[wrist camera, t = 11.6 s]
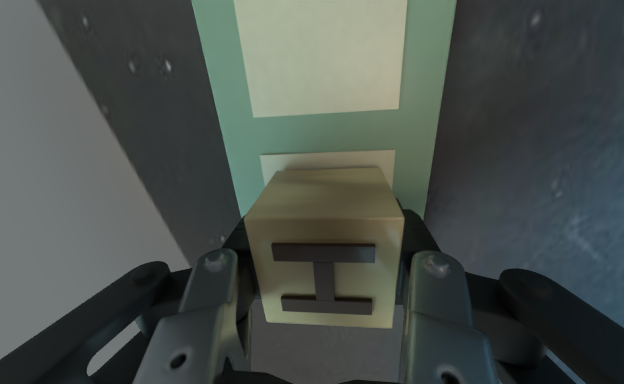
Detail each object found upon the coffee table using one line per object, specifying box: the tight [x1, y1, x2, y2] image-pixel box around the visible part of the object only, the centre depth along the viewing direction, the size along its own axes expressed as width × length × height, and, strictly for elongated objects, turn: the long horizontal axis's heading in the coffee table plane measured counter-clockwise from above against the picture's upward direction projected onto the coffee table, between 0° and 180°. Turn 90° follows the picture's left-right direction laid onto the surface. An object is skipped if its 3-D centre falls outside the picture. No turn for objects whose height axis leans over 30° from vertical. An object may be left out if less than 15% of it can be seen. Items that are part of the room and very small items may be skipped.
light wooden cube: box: [244, 168, 405, 328], centre depth 9 cm, size 4×4×4 cm
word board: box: [192, 0, 457, 220], centre depth 10 cm, size 9×18×1 cm, turn 4°
